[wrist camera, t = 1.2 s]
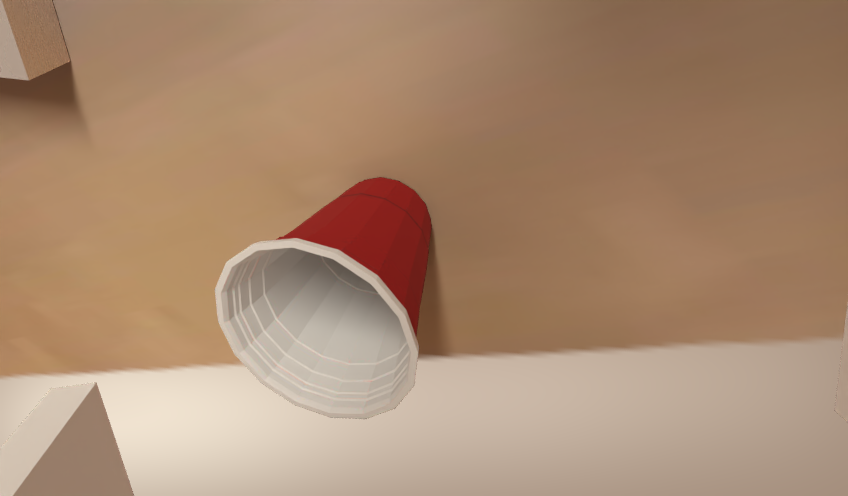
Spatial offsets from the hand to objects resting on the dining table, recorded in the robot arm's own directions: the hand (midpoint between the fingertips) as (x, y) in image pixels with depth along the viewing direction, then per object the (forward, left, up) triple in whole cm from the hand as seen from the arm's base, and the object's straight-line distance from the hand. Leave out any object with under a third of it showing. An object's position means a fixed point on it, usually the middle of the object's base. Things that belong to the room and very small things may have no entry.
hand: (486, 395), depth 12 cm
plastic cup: (+13, -10, -25) cm, 30 cm away
